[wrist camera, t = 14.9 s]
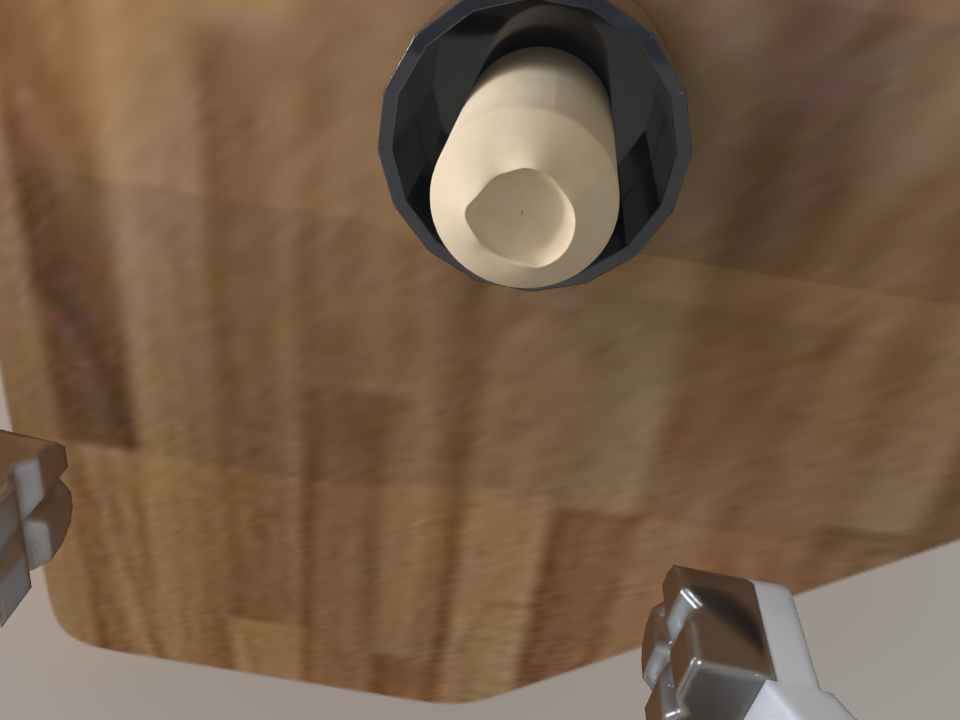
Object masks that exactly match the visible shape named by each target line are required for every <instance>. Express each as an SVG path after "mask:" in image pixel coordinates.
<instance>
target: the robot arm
mask: <svg viewBox="0 0 960 720" xmlns="http://www.w3.org/2000/svg"><path fill="white" fill-rule="evenodd" d="M67 467H68V463H67V457H66V451H65V447H64V446H62V445H61V444H59V443H57V442H54V441H49V440H45V439H40V438H36V437H31V436H27V435H22V434H18V433H13V432H9V431H4V430H0V627H3V625H4V624H5V623H6V621H7V619H8V618H9V617H10V616H11V614H12V613H13V612H14V610H15V609H16V608H17V606H18V605H19V603H20V602H21V601H22V599H23V598H24V597H25V595H26V594H27V593H28V591H29V590H30V588H31V580H30V573H29V571H31V570H33V569H35V568H37V567H39V566H41V565H43V564H45V563H47V562H49V561H51V559H52V558H53V556H54V555H55V554H56V552H57V551H58V549H59V548H60V546H61V545H62V543H63V540H64V538H65V535H66V533H67V530H68V528H69V525H70V522H71V514H72V496H71V491H70V490H69V489H68V488H67V487H66V486H65V484H64V483H63V482H62V481H61V480H60V479H59V477H60V476H61V475H62V474H63V472H64V471H65V470H66V468H67ZM662 587H663V596H664V601H663V602H662V603H660V604H658V605H656V606H655V607H653V608H652V610H651V613H650V616H649V618H648V621H647V624H646V627H645V632H644V638H643V643H642V661H641V662H642V674H643V675H642V677H643V679H644V681H645V682H646V683H647V684H648V686H649V687H650V689H651V690H652V693H651V696H650V698H649V700H648V703H647V705H646V707H645V713H646V720H857V719H855V718H854V716H853V715H852V714H851V713H850V712H849V711H848V710H847V709H846V708H845V707H844V706H843V704H842V703H841V702H840V701H839V700H838V699H837V698H836V697H835V696H834V695H833V694H832V693H829V692H824V691H821V690H820V687H819V684H818V680H817V677H816V674H815V670H814V667H813V664H812V660H811V657H810V654H809V650H808V647H807V643H806V640H805V636H804V633H803V630H802V626H801V623H800V620H799V616H798V613H797V610H796V607H795V603H794V599H793V596H792V593H791V591H790V590H789V589H788V588H787V587H786V586H784V585H779V584H773V583H768V582H763V581H757V580H752V579H748V580H746V579H744V578H740V577H734V576H729V575H724V574H719V573H713V572H708V571H703V570H698V569H692V568H687V567H682V566H677V565H673V567H672V568H671V569H670V570H669V571H668V573H667V575H666V578H665V580H664V582H663V584H662Z"/></svg>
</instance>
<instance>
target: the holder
mask: <svg viewBox="0 0 960 720" xmlns="http://www.w3.org/2000/svg"><path fill="white" fill-rule="evenodd" d="M539 46H542V47H552V48H556V49H560V50H563V51H565V52H568V53H570V54H572V55H574V56H576V57H577V58H579V59H580V60H582V61H583V62H584V63H586V64H587V65H588V66H589V67H590V68H591V69H592V70H593V71H594V72H595V73H596V75H597V76H598V77H599V79H600V80H601V82H602V84H603V85H604V87H605V89H606V92H607V94H608V97H609V101H610V105H611V109H612V116H613V126H614V138H615V149H616V160H617V171H618V183H619V195H620V198H619V212H618V218H617V222H616V225H615V228H614V231H613V233H612V235H611V237H610V239H609V241H608V243H607V245H606V246H605V248H604V249H603V251H602V252H601V253H600V254H599V255H598V257H597V258H596V259H595V260H594V261H593V262H592V263H591V264H590V265H588V266H587V267H586V268H585V269H583V270H582V271H581V272H579V273H578V274H576V275H574V276H572V277H570V278H569V279H567V280H564V281H562V282H559V283H556V284H553V285H549V286H544V287H537V288H515V287H510V288H515V289H520V290H525V291H538V290H545V289H552V288H558V287H565V286H572V285H579V284H584V283H585V282H586V283H587V282H589V281H591V280H593V279H595V278H596V277H598V276H600V275H602V274H604V273H605V272H607V271H609V270H611V269H613V268H614V267H616V266H618V265H620V264H622V263H624V262H625V261H627V260H629V259H631V258H633V257H634V256H635V255H637V254H638V253H639V251H640V250H641V249H642V248H643V247H644V245H645V244H646V243H647V242H648V241H649V239H650V238H651V237H652V236H653V235H654V233H655V232H656V231H657V230H658V229H659V227H660V226H661V225H662V224H663V223H664V221H665V220H666V219H667V218H668V217H669V215H670V214H671V213H672V212H673V210H674V208H675V204H676V201H677V198H678V195H679V192H680V189H681V186H682V182H683V179H684V176H685V173H686V170H687V167H688V164H689V160H690V157H691V152H692V149H691V138H690V128H689V117H688V107H687V96H686V91H685V87H684V85H683V82H682V80H681V77H680V75H679V72H678V70H677V67H676V64H675V62H674V59H673V57H672V56H671V54H670V52H669V50H668V48H667V47H666V45H665V43H664V41H663V40H662V37H661V35H660V33H659V31H658V30H657V28H656V27H655V25H654V23H653V22H652V20H651V18H650V16H649V15H648V13H647V11H646V10H645V9H644V8H643V7H642V6H640V5H639V4H637V2H636V1H634V0H450V1H449V2H447V3H446V4H445V5H443V6H442V7H441V8H439V9H438V10H437V11H436V12H435V13H434V14H433V15H432V17H431V18H430V19H429V20H428V21H427V22H426V23H425V24H424V25H423V27H422V28H421V29H420V30H419V31H418V32H417V33H416V34H415V36H414V37H413V39H412V41H411V42H410V44H409V46H408V48H407V49H406V51H405V53H404V55H403V57H402V58H401V60H400V62H399V64H398V65H397V67H396V69H395V71H394V73H393V74H392V76H391V78H390V80H389V81H388V83H387V85H386V87H385V90H384V95H383V104H382V113H381V123H380V132H379V141H378V153H379V156H380V160H381V163H382V167H383V170H384V174H385V177H386V181H387V184H388V188H389V191H390V195H391V198H392V202H393V204H394V206H395V208H396V209H397V211H398V212H399V213H400V214H401V216H402V217H403V218H404V220H405V221H406V222H407V224H408V225H409V226H410V228H411V229H412V230H413V231H414V233H415V234H416V235H417V237H418V238H419V239H420V241H421V242H422V243H423V245H424V246H425V247H426V248H427V250H429V251H430V252H431V253H433V254H434V255H436V256H437V257H439V258H441V259H442V260H444V261H445V262H447V263H449V264H450V265H452V266H453V267H455V268H457V269H458V270H460V271H461V272H463V273H465V274H466V275H468V276H470V277H471V278H473V279H474V280H477V281H481V282H486V283H491V284H496V283H493V282H490V281H488V280H485V279H483V278H481V277H479V276H477V275H476V274H474V273H473V272H471V271H470V270H468V269H467V268H465V267H464V266H463V265H462V264H461V263H460V262H458V261H457V260H456V259H455V257H454V256H453V255H452V254H451V253H450V252H449V250H448V249H447V248H446V246H445V245H444V243H443V242H442V240H441V238H440V236H439V234H438V232H437V230H436V227H435V224H434V221H433V217H432V213H431V205H430V186H431V181H432V176H433V172H434V169H435V166H436V164H437V161H438V159H439V157H440V155H441V153H442V151H443V149H444V146H445V144H446V142H447V140H448V138H449V136H450V134H451V132H452V129H453V127H454V125H455V123H456V121H457V119H458V117H459V115H460V112H461V110H462V108H463V106H464V104H465V102H466V100H467V98H468V96H469V94H470V92H471V90H472V88H473V86H474V84H475V83H476V81H477V80H478V78H479V77H480V75H481V74H482V73H483V72H484V71H485V70H486V68H488V67H489V66H490V65H491V64H492V63H493V62H495V61H496V60H498V59H499V58H501V57H502V56H504V55H506V54H508V53H510V52H513V51H516V50H519V49H522V48H528V47H539ZM496 285H499V284H496ZM500 286H504V285H500ZM505 287H508V286H505Z"/></svg>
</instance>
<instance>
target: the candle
mask: <svg viewBox="0 0 960 720" xmlns="http://www.w3.org/2000/svg"><path fill="white" fill-rule="evenodd" d="M619 198H620V195H619V183H618V171H617V160H616V149H615V138H614V126H613V116H612V109H611V105H610V101H609V97H608V94H607V92H606V89H605V87H604V85H603V84H602V82H601V80H600V79H599V77H598V76H597V75H596V73H595V72H594V71H593V70H592V69H591V68H590V67H589V66H588V65H587V64H586V63H584V62H583V61H582V60H580V59H579V58H577V57H576V56H574V55H572V54H570V53H568V52H565V51H563V50H560V49H556V48H552V47H542V46H539V47H528V48H522V49H519V50H516V51H513V52H510V53H508V54H506V55H504V56H502V57H501V58H499V59H498V60H496V61H495V62H493V63H492V64H491V65H490V66H489V67H488V68H486V70H485V71H484V72H483V73H482V74H481V75H480V77H479V78H478V80H477V81H476V83H475V84H474V86H473V88H472V90H471V92H470V94H469V96H468V98H467V100H466V102H465V104H464V106H463V108H462V110H461V112H460V115H459V117H458V119H457V121H456V123H455V125H454V127H453V129H452V132H451V134H450V136H449V138H448V140H447V142H446V144H445V146H444V149H443V151H442V153H441V155H440V157H439V159H438V161H437V164H436V166H435V169H434V172H433V176H432V181H431V186H430V205H431V213H432V217H433V221H434V224H435V227H436V230H437V232H438V234H439V236H440V238H441V240H442V242H443V243H444V245H445V246H446V248H447V249H448V250H449V252H450V253H451V254H452V255H453V256H454V257H455V259H456V260H457V261H458V262H460V263H461V264H462V265H463V266H464V267H465V268H467V269H468V270H470V271H471V272H473V273H474V274H476V275H477V276H479V277H481V278H483V279H485V280H488V281H490V282H493V283H496V284H499V285H504V286H508V287H515V288H537V287H544V286H549V285H553V284H556V283H559V282H562V281H564V280H567V279H569V278H570V277H572V276H574V275H576V274H578V273H579V272H581V271H582V270H583V269H585V268H586V267H587V266H588V265H590V264H591V263H592V262H593V261H594V260H595V259H596V258H597V257H598V255H599V254H600V253H601V252H602V251H603V249H604V248H605V246H606V245H607V243H608V241H609V239H610V237H611V235H612V233H613V231H614V228H615V225H616V222H617V218H618V212H619Z"/></svg>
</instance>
